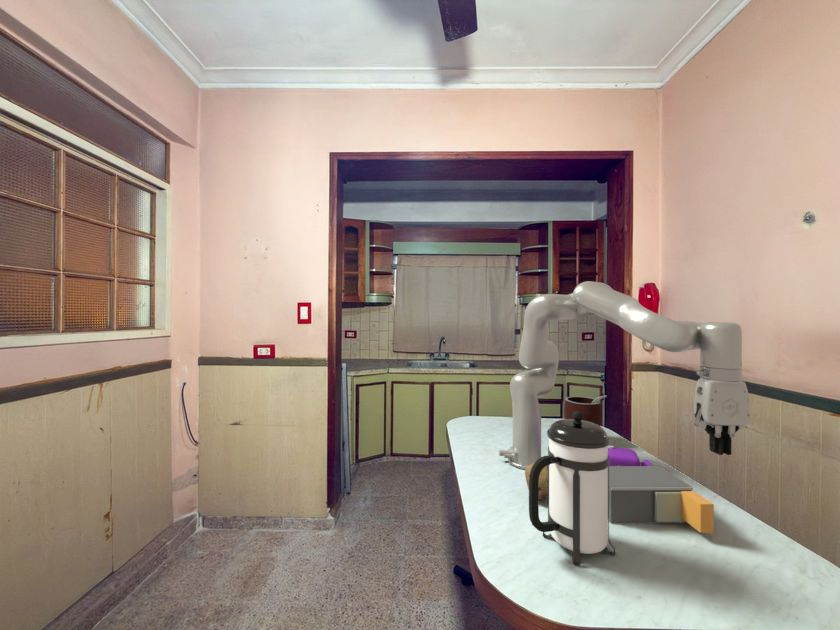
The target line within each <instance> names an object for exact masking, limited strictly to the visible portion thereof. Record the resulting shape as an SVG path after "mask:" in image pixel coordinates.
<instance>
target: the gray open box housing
mask: <svg viewBox="0 0 840 630" xmlns="http://www.w3.org/2000/svg"><path fill="white" fill-rule="evenodd" d="M681 491H694V487H693V486H691V485H690V484H688V483H687V482H685V481H684V480H682V479H681V478H679V477H678V476H675V475H674V474H673V473H671V472H670V471H667V470H666V469H665V468H664V467H661V466H659V465H655V466H654V465H651V466H609V524H688V523H687V522H656V521H655V492H681Z"/></svg>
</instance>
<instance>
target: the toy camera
mask: <svg viewBox="0 0 840 630" xmlns="http://www.w3.org/2000/svg"><path fill="white" fill-rule="evenodd" d="M608 455H609V466H652V465H651V461H650V460H649V459H645V460H643V461H640V458H639V456H638V454H637V453H636V451H635V450H633V449H630V448H622V447H615V446H614V445H611V444H609V446H608Z"/></svg>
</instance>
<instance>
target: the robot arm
mask: <svg viewBox="0 0 840 630" xmlns="http://www.w3.org/2000/svg"><path fill="white" fill-rule="evenodd" d="M590 314H593V315H595V316H598V317H600V318H602V319H604V320H606V321H608V322H611V323H612V324H615V325H617V326H619V327H620V328H621V329H623V330H624V331H625V332H627V333H629V334H630V335H633V336H634V337H636V338H638V339H639V340H641V341H644V342H646V343H647V344H650V345H652V346H654V347H657V348H659V349H661V350H663V351H666V352H670V353H682V352H686V351H692V350H699V357H700V358H699V360H700V361H699V362H700V364H699V365H700V366H699V369H697V370H696V375H697V376H699V379H697V381H696V386H695V389H694V390H695V392H694V400H693V417H694V418H695V419H694V422H693V425H694V426H695V427H698V428H701V429H703V430H704V431H705V432H706V434H708V435H709V451H710V452H712V453H714V454H716V455H719V456H723V455H724V454H725V455H727V456H731V455H732V439H734V438H735V437H736V436H735V435H736V433H737V432H738V431H739V430H740V429H744V428H747V426H748V425H749V424H750V422H751V419H752V418H751V403H750V402H751V401H750V395H749V391H748V387H747V384H746V382H745V381H743V375H742V374H743V365H742V364H743V335H742V334H743V331H742V329H743V328H742V327H741V325H740V324H739V323H736V322H728V321H727V322H725V321H724V322H723V321H722V322H721V321H720V322H719V321H718V322H717V321H715V322H711V321H710V322H697V321H690V320H689V321H688V320H674V319H672V318H668V317H667V316H664V315H661V314H659V313H657V312H654V311H652V310H650V309H648V308H646V307H644V306H643V305H642V304H641V303H640V302H639V299H636V298H635V297H634V296H630V295H627V294H625V293H624V292H623V293H622V292H620V291H618V290H614V289H613V288H612V287H611V286H610V285H608V284H606V283H603V282H600V281H599V282H598V281H589V280H588V281H587V280H586V281H583V282H580V283H579V284H578V285H577V286H575V288H574V290H573V292H572V293H568V294H559V293H547V294H542V295H538V296H536V297H534V298H533V299H531V301H529V303H528V304H527V306H526V308H525V312H524V316H523V317H524V318H523V329H522V334H521V340H520V346H519V351H518V362H519V365H521V366H522V367H523V368H525V369H527V370H525V371H521V372H518V373H516V374H515V375H513V377H512V378H511V380H510V382H509V391H510V392H509V393H510V397H511V404H512V407H511V408H512V446H510V448H509V449H507V450H505V449H504V450H503V449H499V450H498V455H499V457H504V459H507V461H508V463H509V464H510V465H511V466H513V467H515V468H517V469H521V470H526V468H527V467H528V466H529V465H530V464H532V463H534V462H536V461H537V460H538V459H539V458H541V457H542V409H541V405H540V402H539V399H538V398H540V397H544V396H546V395H547V396H548V394H550V393H551V392H553V390H554V387H555V383H556V379H557V374H558V367H559V362H560V353H559V348H558V347H557V346H556V344H555V343H553V342H552V341H550V340H549V337H550V327H549V322H550V321H570V320H575V319H578V318H580V317H581V318H582V317H584V316H587V315H590Z"/></svg>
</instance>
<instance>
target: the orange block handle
mask: <svg viewBox="0 0 840 630" xmlns="http://www.w3.org/2000/svg"><path fill="white" fill-rule="evenodd" d="M714 512H715V504H714V503H713V502H711V501H709V500H708V499H707V498H705V497H703V496H702V495H700V494H698V493H697V492H696V491H694V490H692V491H681V492H655V521H656V522H687V523H686V524H689V525H690V526H691V527H692V528H694V529H695V530H696V531H698V533H701V534H714V532H715V531H714V530H715V529H714V527H715V526H714V525H715V523H714V522H715V520H714V519H715V518H714V517H715V513H714Z"/></svg>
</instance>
